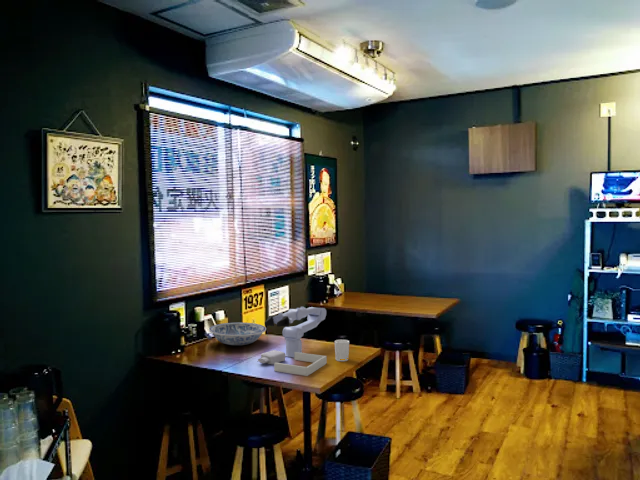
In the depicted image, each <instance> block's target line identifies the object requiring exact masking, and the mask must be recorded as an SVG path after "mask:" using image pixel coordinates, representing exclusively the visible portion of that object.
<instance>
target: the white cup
mask: <svg viewBox="0 0 640 480" xmlns="http://www.w3.org/2000/svg"><path fill="white" fill-rule="evenodd" d="M334 353H335V357H334V358H335V361H337V362H347V361H349V353H350V340H348V339H336V340H334ZM347 358H348V359H347ZM340 359H345V360H340Z"/></svg>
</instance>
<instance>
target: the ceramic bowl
mask: <svg viewBox="0 0 640 480" xmlns="http://www.w3.org/2000/svg"><path fill="white" fill-rule="evenodd" d="M208 328H209V329H208V331H209V333H210V334H212V335H213V336H214V337H215V339H216V340H217V341H218V342H219V343H221V344H225V345H229V346H245V345H249V344H253V343H254V342H256V341H258V339H259V338H260V337H261V336H262V334H263V333H265V332H266V331H267V326H265V325H262V324H260V323H253V322H241V321H239V322H237V321H236V322H223V323H219V324H214V325H211V326H210V327H208Z"/></svg>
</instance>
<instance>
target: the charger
mask: <svg viewBox="0 0 640 480" xmlns="http://www.w3.org/2000/svg"><path fill="white" fill-rule="evenodd" d="M285 354H286V352H284V351H280V350H275V349H273V350H270V351H267V352H262V353H261V354H260V358H258V359H257V362H259V363H261V364H268V365H273V366H274V363H281V362H282V363H283V362H284V361H286V356H285Z"/></svg>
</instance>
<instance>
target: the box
mask: <svg viewBox="0 0 640 480" xmlns="http://www.w3.org/2000/svg"><path fill="white" fill-rule="evenodd" d="M293 360H295V361H299V362H300V361H301V362H308V363H311V364H309V365H307V366H301V365H295V364H288V363H283V362H282V363H281V362H279V363H274V364H273V368H274V369H273V370H274V372H278V373H279V372H280V373H286V374H293V375H298V376H303V377H304V376H305V377H308V376H310V375H311V374H313V373H315V372H316V371H317V370H319V369H320V368H322V367H324V366H326V364H327V362H328V361H327V360H328V359H327V355H322V354H321V355H320V354H313V353H305V352H302V353H299V352H294V357H293Z"/></svg>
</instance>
